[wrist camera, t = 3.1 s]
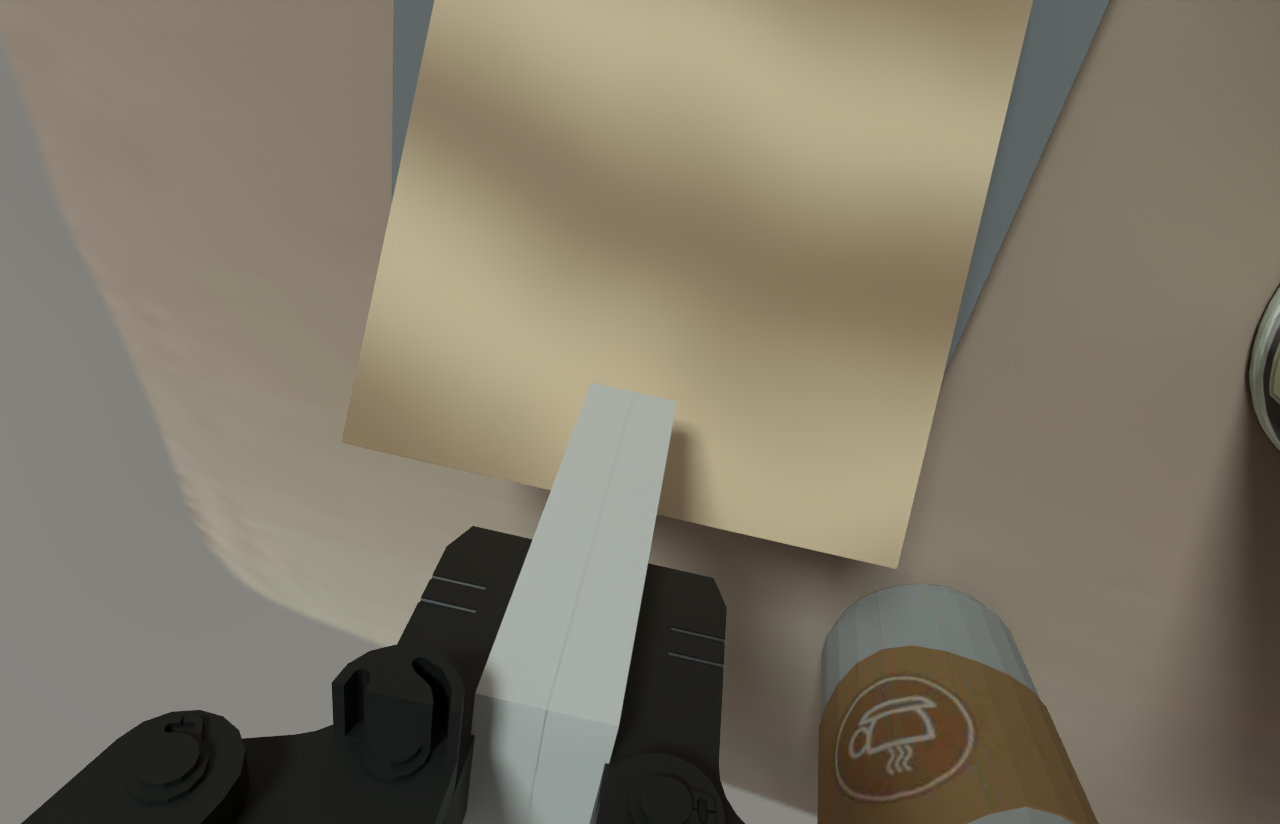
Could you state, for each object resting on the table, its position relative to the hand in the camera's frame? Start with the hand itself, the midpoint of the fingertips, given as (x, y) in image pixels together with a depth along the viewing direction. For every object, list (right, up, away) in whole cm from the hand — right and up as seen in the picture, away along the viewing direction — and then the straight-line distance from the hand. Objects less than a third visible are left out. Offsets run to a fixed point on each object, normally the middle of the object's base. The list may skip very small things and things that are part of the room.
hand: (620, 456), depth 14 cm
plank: (+1, +5, +2) cm, 5 cm away
